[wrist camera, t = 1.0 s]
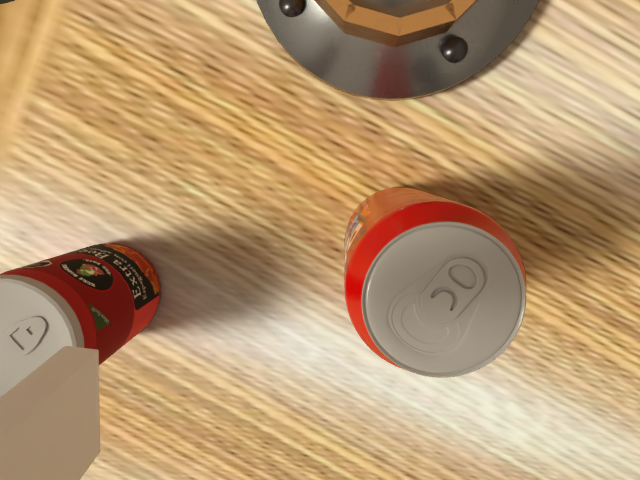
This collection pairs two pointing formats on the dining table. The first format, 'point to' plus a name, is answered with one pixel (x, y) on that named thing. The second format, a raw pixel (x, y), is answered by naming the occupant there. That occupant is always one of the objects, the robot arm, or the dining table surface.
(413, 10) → the bolted flange plate
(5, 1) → the colorful printed placemat
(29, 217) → the dining table surface
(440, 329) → the soda can
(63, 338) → the canned food
